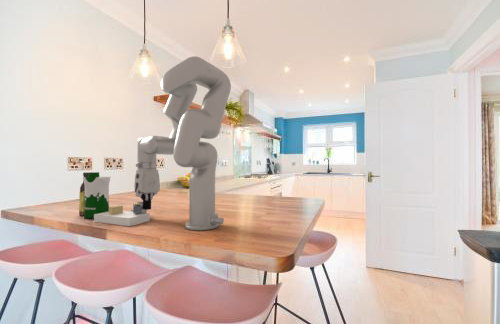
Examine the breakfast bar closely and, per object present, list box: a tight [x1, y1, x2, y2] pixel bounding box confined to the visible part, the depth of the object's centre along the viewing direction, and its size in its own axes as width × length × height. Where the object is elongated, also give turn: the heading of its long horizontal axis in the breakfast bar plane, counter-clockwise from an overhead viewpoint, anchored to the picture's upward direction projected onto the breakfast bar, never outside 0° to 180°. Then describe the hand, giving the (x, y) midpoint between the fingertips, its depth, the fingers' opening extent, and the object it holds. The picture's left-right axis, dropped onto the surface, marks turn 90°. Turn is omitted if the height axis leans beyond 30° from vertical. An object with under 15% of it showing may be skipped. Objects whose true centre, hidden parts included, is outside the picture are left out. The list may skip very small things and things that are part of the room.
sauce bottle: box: [78, 171, 91, 216], centre depth 115 cm, size 7×6×20 cm
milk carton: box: [82, 171, 111, 219], centre depth 109 cm, size 9×9×20 cm
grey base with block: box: [93, 204, 151, 227], centre depth 101 cm, size 20×10×6 cm, turn 67°
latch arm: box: [132, 201, 143, 213], centre depth 105 cm, size 12×4×4 cm, turn 22°
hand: (147, 209), depth 104 cm, fingers closed
